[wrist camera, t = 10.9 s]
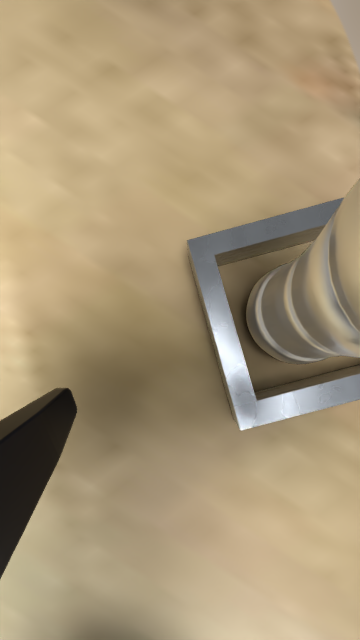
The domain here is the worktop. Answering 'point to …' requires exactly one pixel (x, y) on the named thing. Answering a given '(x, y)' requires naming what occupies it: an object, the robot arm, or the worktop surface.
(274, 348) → the plastic bottle
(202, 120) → the worktop surface
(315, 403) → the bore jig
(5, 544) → the robot arm
